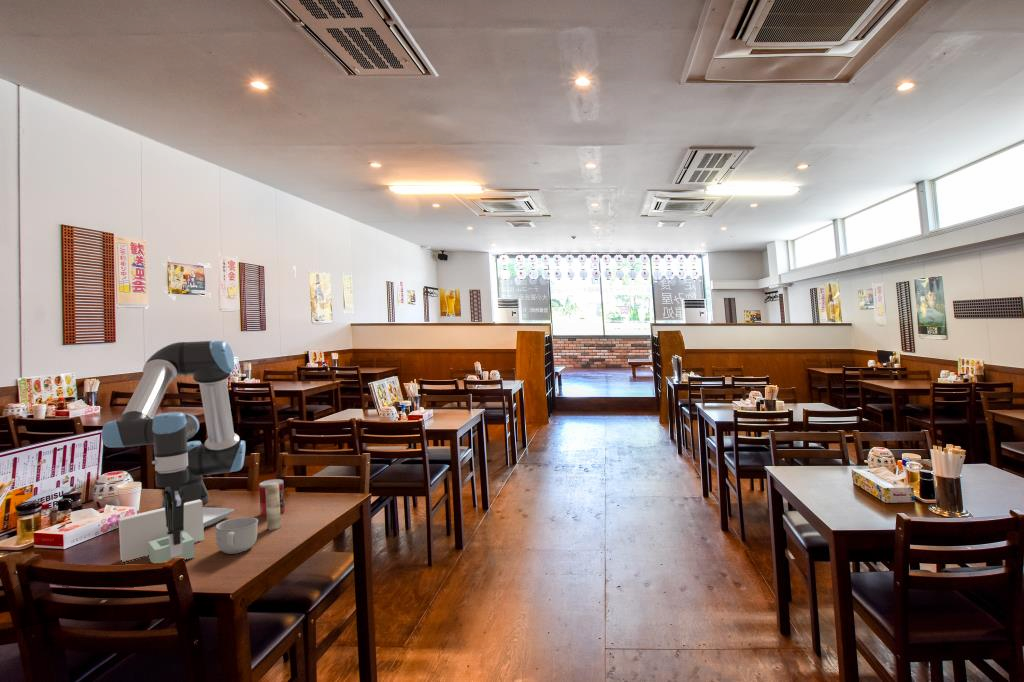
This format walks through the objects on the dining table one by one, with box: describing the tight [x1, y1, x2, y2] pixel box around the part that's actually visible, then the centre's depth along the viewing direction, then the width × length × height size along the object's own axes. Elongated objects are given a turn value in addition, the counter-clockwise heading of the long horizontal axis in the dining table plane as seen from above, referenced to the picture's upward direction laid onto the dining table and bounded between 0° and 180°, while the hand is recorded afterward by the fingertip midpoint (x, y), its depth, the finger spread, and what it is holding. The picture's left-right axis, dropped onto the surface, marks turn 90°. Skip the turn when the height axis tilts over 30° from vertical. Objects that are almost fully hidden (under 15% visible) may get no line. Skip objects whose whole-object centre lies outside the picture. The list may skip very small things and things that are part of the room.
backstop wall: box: [118, 499, 205, 563], centre depth 146 cm, size 3×20×12 cm, turn 136°
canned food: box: [258, 478, 286, 517], centre depth 174 cm, size 8×8×11 cm
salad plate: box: [203, 506, 235, 529], centre depth 164 cm, size 21×21×3 cm
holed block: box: [148, 532, 196, 564], centre depth 139 cm, size 9×9×5 cm
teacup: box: [215, 516, 259, 555], centre depth 142 cm, size 14×11×8 cm
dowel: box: [265, 483, 282, 531], centre depth 160 cm, size 4×4×14 cm
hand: (176, 554), depth 136 cm, fingers closed
